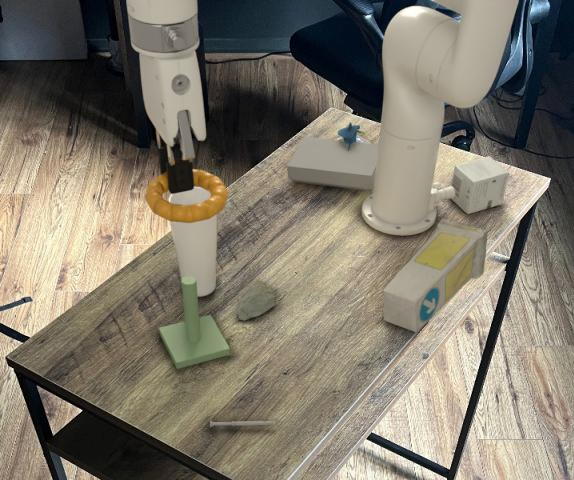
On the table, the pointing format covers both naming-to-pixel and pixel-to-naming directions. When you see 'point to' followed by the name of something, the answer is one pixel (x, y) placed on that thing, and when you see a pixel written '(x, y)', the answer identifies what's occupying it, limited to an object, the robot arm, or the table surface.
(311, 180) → the flat grey box
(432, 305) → the toppled traffic bollard
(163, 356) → the table surface
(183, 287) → the rack
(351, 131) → the toy figurine
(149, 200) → the ring
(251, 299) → the rock
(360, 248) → the table surface
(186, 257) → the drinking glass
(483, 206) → the product carton
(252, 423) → the wall anchor
